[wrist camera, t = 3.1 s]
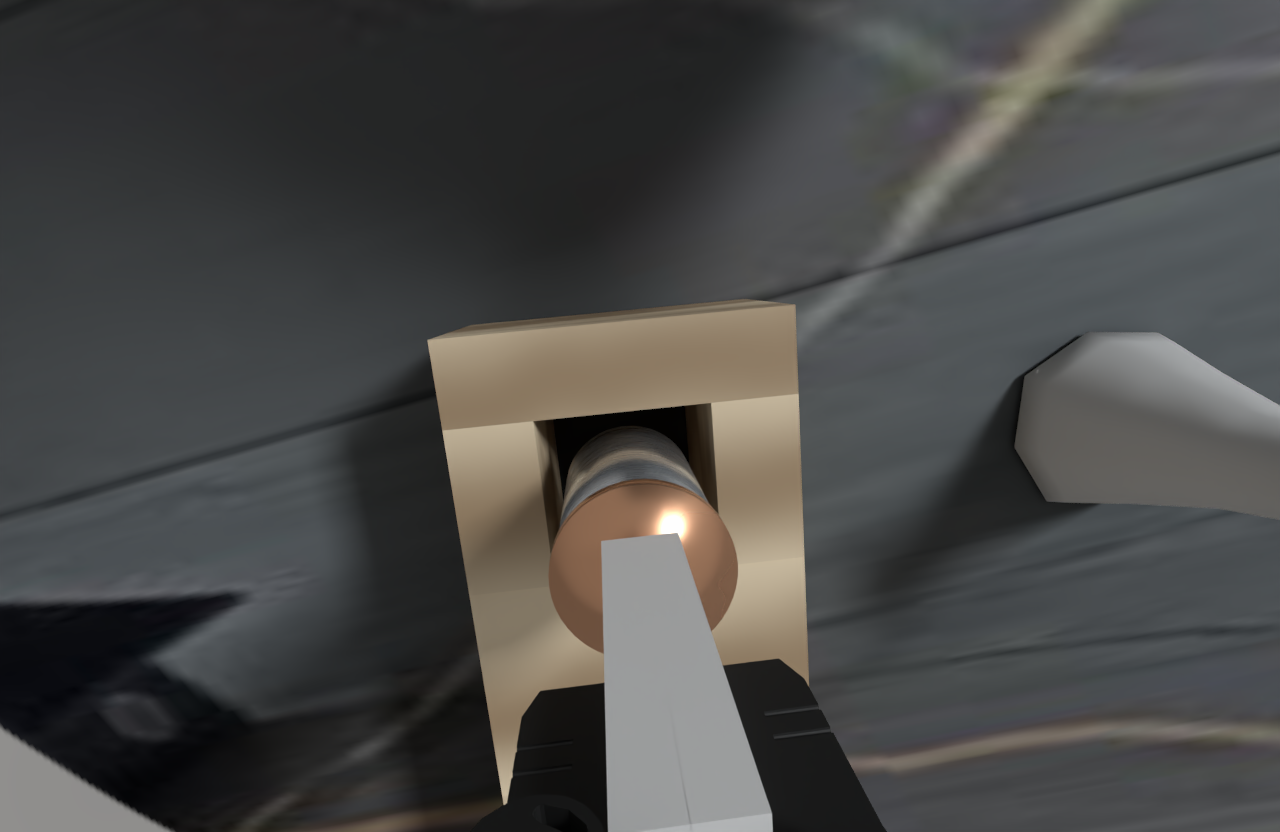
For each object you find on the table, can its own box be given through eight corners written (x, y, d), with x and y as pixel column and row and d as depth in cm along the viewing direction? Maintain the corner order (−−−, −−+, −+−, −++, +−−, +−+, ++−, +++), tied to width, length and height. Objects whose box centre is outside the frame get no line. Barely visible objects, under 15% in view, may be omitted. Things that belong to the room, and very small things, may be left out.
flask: (1024, 525, 26) (1286, 674, 16) (993, 360, 24) (1263, 413, 14) (1190, 471, 26) (1552, 586, 16) (1170, 302, 24) (1560, 315, 14)
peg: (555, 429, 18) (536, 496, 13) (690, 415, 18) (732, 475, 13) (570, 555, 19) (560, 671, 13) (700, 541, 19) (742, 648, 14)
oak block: (471, 324, 22) (427, 340, 17) (744, 298, 23) (795, 304, 17) (546, 830, 27) (532, 980, 21) (770, 799, 28) (818, 938, 22)
